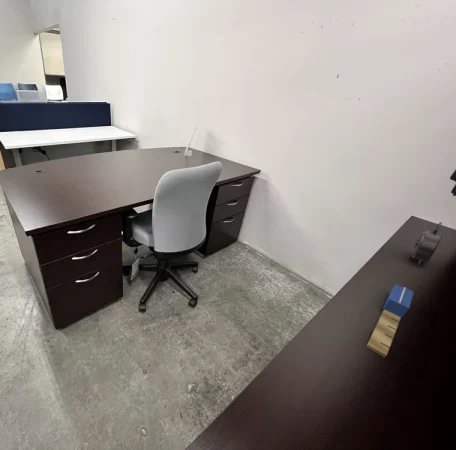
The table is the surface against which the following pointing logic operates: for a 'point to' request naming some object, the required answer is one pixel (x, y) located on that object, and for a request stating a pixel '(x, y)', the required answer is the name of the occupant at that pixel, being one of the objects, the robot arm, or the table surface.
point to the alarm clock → (426, 245)
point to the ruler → (383, 333)
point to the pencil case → (399, 300)
